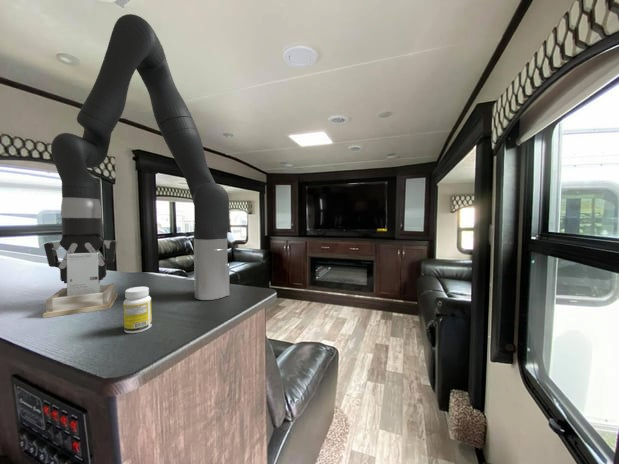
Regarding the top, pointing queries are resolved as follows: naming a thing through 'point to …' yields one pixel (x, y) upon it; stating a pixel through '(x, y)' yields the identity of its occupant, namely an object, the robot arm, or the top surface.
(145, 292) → the supplement bottle
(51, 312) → the wooden tray
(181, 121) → the robot arm
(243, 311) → the top surface
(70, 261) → the skincare box
